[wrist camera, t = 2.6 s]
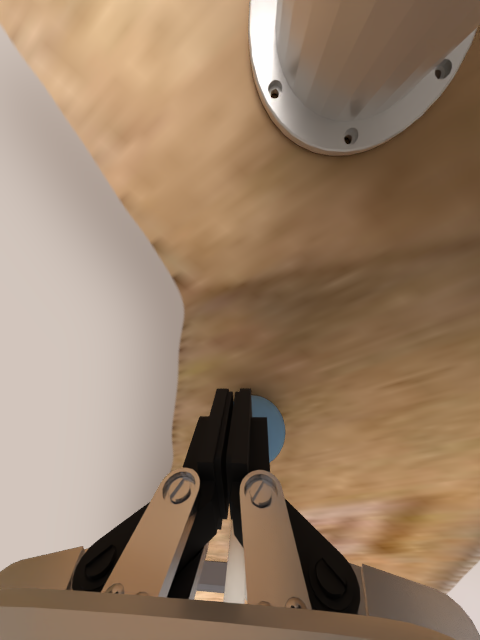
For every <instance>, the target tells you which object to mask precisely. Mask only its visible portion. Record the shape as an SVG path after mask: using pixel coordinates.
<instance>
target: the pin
mask: <svg viewBox="0 0 480 640" xmlns="http://www.w3.org/2000/svg"><path fill="white" fill-rule="evenodd" d="M245 578H246V575H245V561H244V548H243V547H242V546H241V544H240V543H239V541H238V540H237V538H236V537H235V536H234V530H233V520H232V521H231V531H230V541H229V551H228V561H227V571H226V581H225V592H224V602H228V603H240V604H244V602H245Z"/></svg>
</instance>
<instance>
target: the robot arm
mask: <svg viewBox="0 0 480 640" xmlns="http://www.w3.org/2000/svg"><path fill="white" fill-rule="evenodd" d="M479 25H480V0H250V2H249V25H248V37H249V53H250V61H251V66H252V72H253V78H254V82H255V85H256V88H257V91H258V93H259V96H260V99H261V102H262V104H263V106H264V107H265V109H266V111H267V113H268V114H269V116H270V118H271V120H272V121H273V122H274V123H275V125H276V126H277V127H278V128H279V129H280V130H281V132H282V133H283V134H284V135H285V136H287V137H288V138H289V139H291V140H292V141H293V142H295V143H296V144H297V145H299V146H301V147H303V148H305V149H307V150H310V151H312V152H314V153H319V154H324V155H330V156H341V155H352V154H356V153H360V152H364V151H368V150H370V149H372V148H375V147H377V146H379V145H381V144H383V143H385V142H387V141H389V140H390V139H392V138H393V137H395V136H396V135H398V134H399V133H401V132H402V131H404V130H405V129H406V128H407V127H409V126H410V125H411V124H412V123H414V122H415V121H416V120H417V119H418V118H420V117H421V116H422V115H423V114H424V113H425V112H426V111H427V110H428V109H429V108H430V106H431V105H432V104H433V103H434V102H435V101H436V100H437V99H438V98H439V97H440V96H441V94H442V93H443V92H444V90H445V89H446V87H447V86H448V85H449V83H450V82H451V80H452V79H453V78H454V76H455V74H456V73H457V71H458V69H459V67H460V65H461V64H462V62H463V60H464V58H465V56H466V54H467V52H468V50H469V48H470V46H471V44H472V42H473V39H474V36H475V33H476V31H477V28H478V26H479ZM273 93H276V94H277V95H278V98H276V99H274V98H271V95H272V94H273ZM345 137H347V138H349V140H350V143H349V144H346V142H345V141H344V138H345ZM229 505H230V515H231V519H232V520H233V530H234V536H235V537H236V538H237V540H238V541H239V543H240V544H241V546H242V547H243V548H244V561H245V575H246V589H247V603H248V604H240V603H228V602H215V601H203V600H194V597H195V594H196V590H197V586H198V583H199V579H200V576H201V572H202V568H203V565H204V561H205V558H206V554H207V551H208V545H209V541H210V540H211V539H212V538H213V537H214V536H215V535H216V533H217V529H221V526H222V519H227V517H228V508H229ZM0 640H480V635H479V633H478V631H477V629H476V627H475V625H474V624H473V622H472V620H471V619H470V618H469V616H468V615H467V614H466V613H465V611H464V610H463V609H462V608H461V607H460V606H459V605H458V604H457V603H456V602H455V601H454V600H453V599H451V598H450V597H449V596H448V595H446V594H444V593H442V592H440V591H438V590H437V589H434V588H431V587H428V586H425V585H422V584H419V583H416V582H413V581H411V580H408V579H405V578H402V577H399V576H396V575H393V574H390V573H387V572H385V571H382V570H379V569H376V568H373V567H370V566H367V565H364V564H362V567H359V566H356V565H354V564H351V563H349V562H348V561H347V560H346V559H345V558H344V556H343V555H342V554H341V553H340V552H339V551H338V550H337V549H336V548H335V547H334V546H333V545H332V544H331V543H330V542H329V541H327V540H326V539H325V538H324V537H323V536H322V535H321V534H320V533H319V532H318V531H317V530H316V529H315V528H314V527H313V526H312V525H311V524H310V523H309V522H308V521H307V520H306V519H305V518H304V517H303V516H302V515H301V514H300V513H299V512H298V511H297V510H296V509H295V508H294V507H293V506H292V505H291V504H290V503H289V502H288V501H287V500H286V499H285V498H284V494H283V490H282V487H281V484H280V482H279V480H278V479H277V478H276V477H275V476H274V475H273V474H272V473H270V463H269V444H268V425H267V417H252V400H251V389H240V391H239V392H235V399H234V402H233V392H229V389H217V391H216V394H215V398H214V401H213V405H212V409H211V412H210V416H209V417H202V416H200V418H199V420H198V422H197V426H196V429H195V432H194V435H193V438H192V441H191V444H190V447H189V450H188V453H187V456H186V459H185V462H184V465H183V468H179V469H176V470H174V471H172V472H170V473H169V474H168V475H167V476H166V477H165V478H164V479H163V481H162V482H161V483H160V485H159V487H158V489H157V491H156V493H155V494H154V496H153V498H152V500H151V502H149V503H148V504H147V505H146V506H144V507H143V508H141V509H140V510H138V511H137V512H136V513H134V514H133V515H132V516H130V517H129V518H128V519H126V520H125V521H124V522H122V523H121V524H119V525H118V526H117V527H115V528H114V529H113V530H111V531H110V532H109V533H107V534H106V535H105V536H103V537H102V538H100V539H99V540H98V541H97V542H95V543H94V544H93V545H92V546H91V547H90V548H88V549H84V548H83V546H81V547H77V548H72V549H68V550H63V551H59V552H55V553H50V554H46V555H41V556H37V557H33V558H28V559H24V560H20V561H18V562H15V563H13V564H11V565H9V566H8V567H6V568H5V569H4V570H2V571H1V572H0Z"/></svg>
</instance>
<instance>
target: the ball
mask: <svg viewBox="0 0 480 640" xmlns="http://www.w3.org/2000/svg"><path fill="white" fill-rule="evenodd" d="M251 400H252V417H267V425H268V444H269V463H270V462H271V461H272V460H274V459H275V458H276V456H277V455H278V454H279V452H280V451H281V449H282V447H283V444H284V440H285V425H284V420H283V418H282V415H281V413H280V412H279V410H278V409H277V407H276V406H275V405H274V404H273V403H272V402H270V401H269V400H267V399H265V398H263V397H260V396H256V395H251Z"/></svg>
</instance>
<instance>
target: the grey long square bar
mask: <svg viewBox="0 0 480 640" xmlns="http://www.w3.org/2000/svg"><path fill="white" fill-rule="evenodd" d="M226 571H227V563H225V562H213V561H204V565H203V568H202V572H201V576H200V579H199V583H198V586H197V590H196V591H207V592H217V593H224V592H225V581H226ZM245 583H246V578H245Z"/></svg>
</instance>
